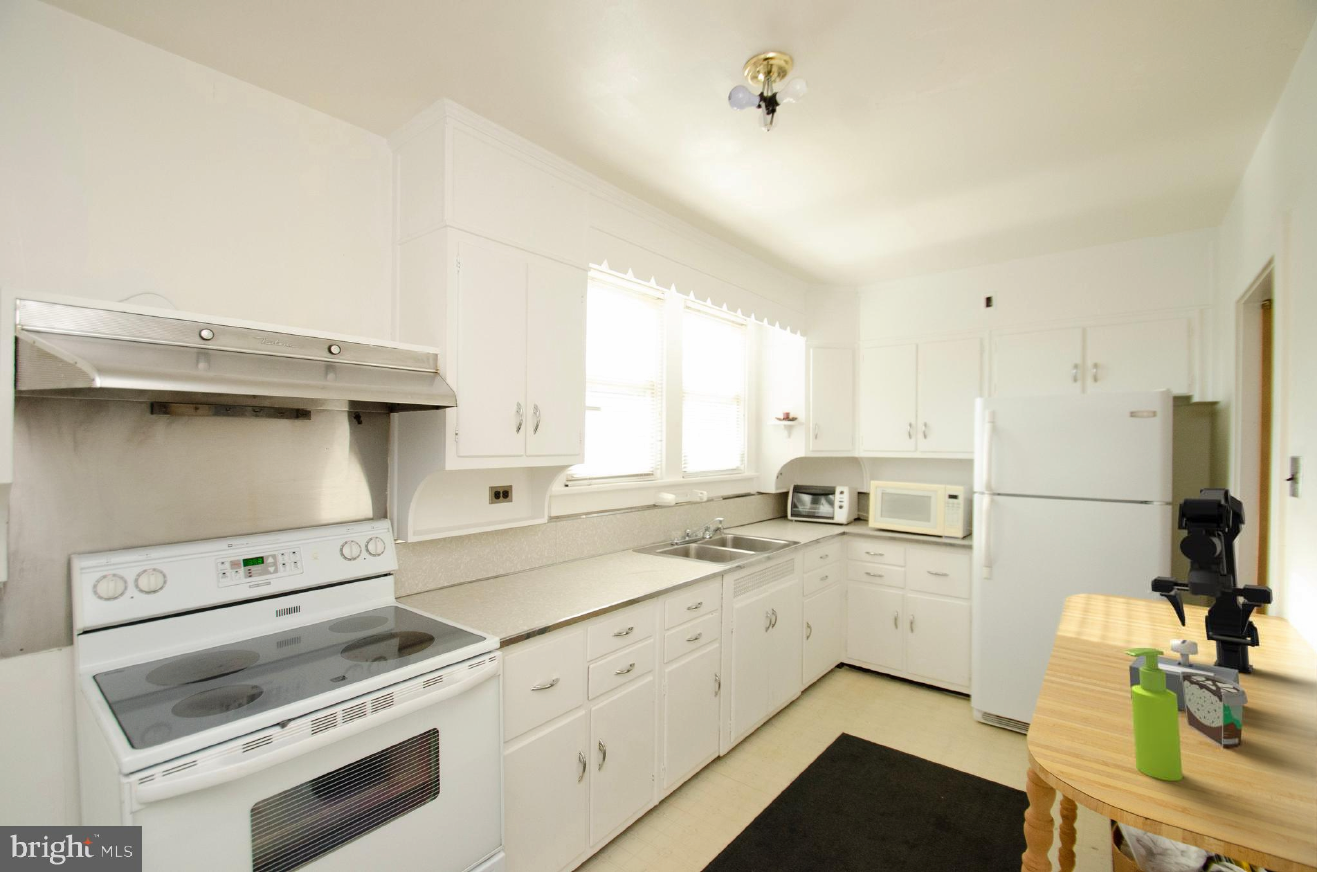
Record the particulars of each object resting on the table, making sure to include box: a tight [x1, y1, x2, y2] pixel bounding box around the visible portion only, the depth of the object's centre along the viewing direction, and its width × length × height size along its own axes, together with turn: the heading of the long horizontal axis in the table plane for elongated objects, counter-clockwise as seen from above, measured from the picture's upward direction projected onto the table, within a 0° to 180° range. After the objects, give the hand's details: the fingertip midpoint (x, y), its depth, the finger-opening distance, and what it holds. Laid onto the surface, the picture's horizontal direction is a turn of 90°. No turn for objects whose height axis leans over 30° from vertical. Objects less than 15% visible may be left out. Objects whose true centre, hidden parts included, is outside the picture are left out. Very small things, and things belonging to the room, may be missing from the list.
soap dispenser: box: [1124, 647, 1183, 782], centre depth 99 cm, size 6×7×20 cm
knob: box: [1169, 638, 1199, 667], centre depth 129 cm, size 4×4×6 cm
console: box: [1128, 655, 1240, 712], centre depth 126 cm, size 12×16×7 cm
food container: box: [1180, 671, 1249, 749], centre depth 110 cm, size 12×6×10 cm, turn 168°
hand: (1212, 630), depth 127 cm, fingers open, 9 cm apart
